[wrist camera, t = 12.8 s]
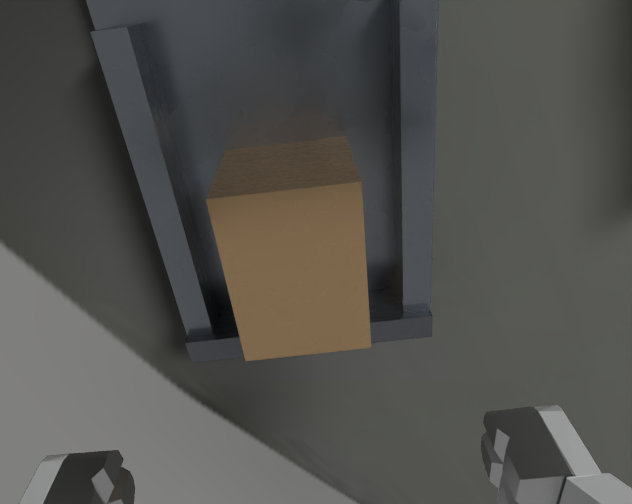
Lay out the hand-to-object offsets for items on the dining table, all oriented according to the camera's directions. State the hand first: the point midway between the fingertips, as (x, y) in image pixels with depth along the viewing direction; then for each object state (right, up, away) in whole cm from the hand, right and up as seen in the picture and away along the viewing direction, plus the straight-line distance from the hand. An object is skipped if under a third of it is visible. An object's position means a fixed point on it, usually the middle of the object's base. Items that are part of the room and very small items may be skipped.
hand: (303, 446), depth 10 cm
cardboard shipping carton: (-1, +6, +11) cm, 12 cm away
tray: (-1, +10, +9) cm, 14 cm away
